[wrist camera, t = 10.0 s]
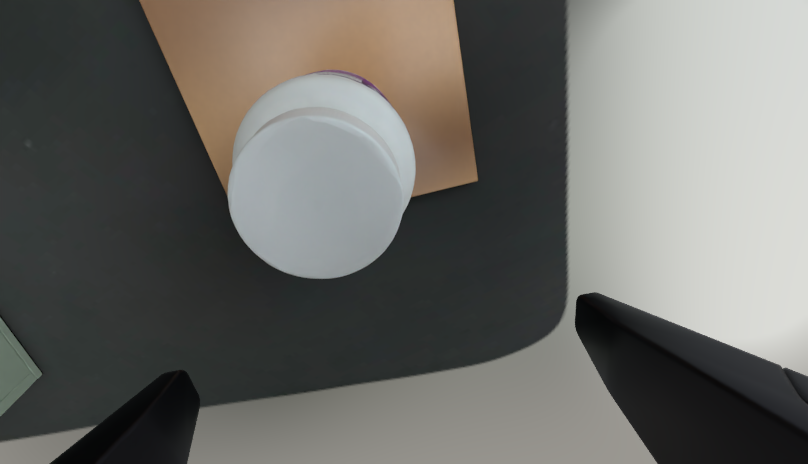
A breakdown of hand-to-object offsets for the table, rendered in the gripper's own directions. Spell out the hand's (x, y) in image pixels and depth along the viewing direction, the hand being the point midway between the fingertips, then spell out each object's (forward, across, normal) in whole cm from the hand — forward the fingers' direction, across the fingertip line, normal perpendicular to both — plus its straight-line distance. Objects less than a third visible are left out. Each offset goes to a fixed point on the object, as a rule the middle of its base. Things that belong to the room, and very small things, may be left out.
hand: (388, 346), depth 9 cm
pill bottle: (+11, +1, -3) cm, 12 cm away
